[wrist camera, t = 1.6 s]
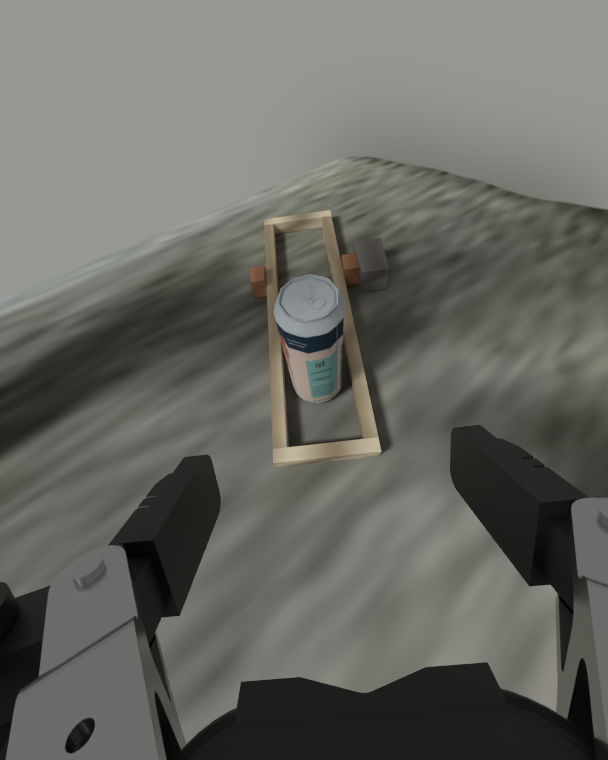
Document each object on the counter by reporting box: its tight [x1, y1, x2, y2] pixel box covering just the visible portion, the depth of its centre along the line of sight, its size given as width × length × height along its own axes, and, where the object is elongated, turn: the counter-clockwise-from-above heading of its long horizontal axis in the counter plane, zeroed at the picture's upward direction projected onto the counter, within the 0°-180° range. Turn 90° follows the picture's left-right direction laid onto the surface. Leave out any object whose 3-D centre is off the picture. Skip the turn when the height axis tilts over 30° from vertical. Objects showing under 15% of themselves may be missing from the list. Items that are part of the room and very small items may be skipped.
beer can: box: [274, 274, 346, 403], centre depth 24 cm, size 5×5×12 cm
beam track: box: [250, 210, 390, 467], centre depth 32 cm, size 15×32×3 cm, turn 5°
